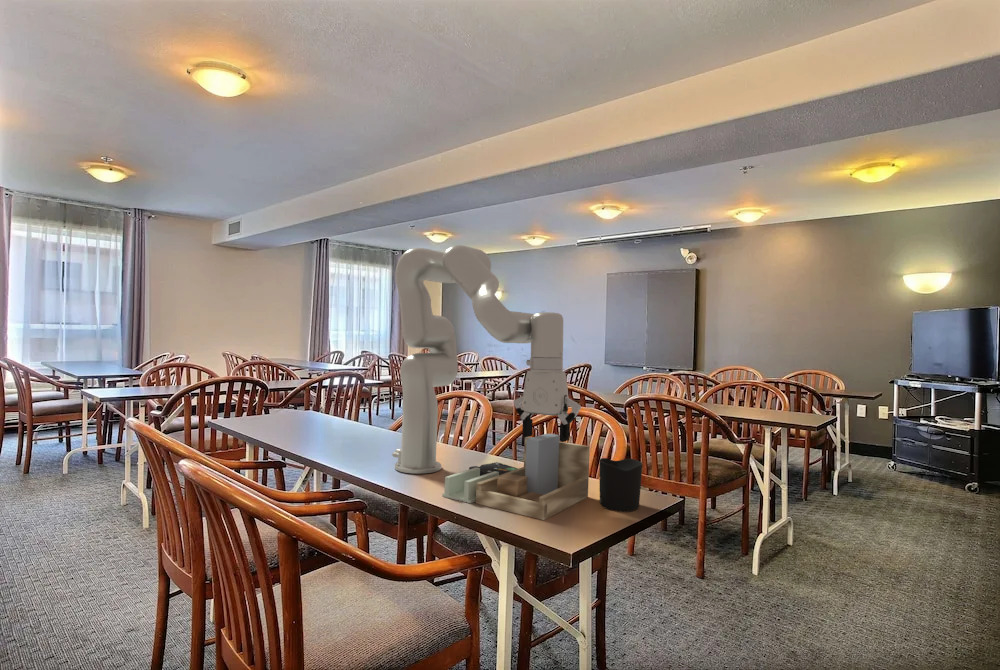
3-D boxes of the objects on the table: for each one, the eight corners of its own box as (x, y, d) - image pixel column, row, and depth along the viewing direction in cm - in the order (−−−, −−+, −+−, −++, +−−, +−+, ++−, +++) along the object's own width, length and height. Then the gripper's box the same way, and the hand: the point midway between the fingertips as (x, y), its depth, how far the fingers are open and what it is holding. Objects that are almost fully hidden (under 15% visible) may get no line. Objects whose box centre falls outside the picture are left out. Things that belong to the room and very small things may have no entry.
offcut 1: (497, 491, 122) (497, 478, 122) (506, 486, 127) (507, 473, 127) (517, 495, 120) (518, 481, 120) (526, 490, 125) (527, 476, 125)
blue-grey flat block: (524, 500, 126) (526, 439, 126) (545, 490, 135) (547, 433, 135) (536, 503, 124) (538, 440, 124) (557, 493, 133) (559, 435, 133)
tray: (475, 503, 123) (477, 449, 123) (525, 483, 140) (527, 436, 140) (543, 520, 113) (545, 461, 113) (587, 496, 131) (589, 446, 131)
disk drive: (467, 477, 147) (505, 489, 136) (468, 466, 147) (506, 478, 136) (496, 471, 154) (535, 483, 143) (496, 461, 154) (535, 472, 143)
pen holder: (610, 497, 131) (612, 455, 131) (647, 506, 125) (649, 462, 125) (590, 505, 124) (591, 461, 124) (628, 515, 118) (630, 468, 118)
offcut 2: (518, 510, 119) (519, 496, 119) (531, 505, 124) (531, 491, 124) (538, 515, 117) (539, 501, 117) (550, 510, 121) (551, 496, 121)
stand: (442, 496, 127) (443, 476, 127) (473, 485, 137) (474, 467, 137) (470, 503, 122) (471, 482, 122) (500, 491, 132) (501, 472, 132)
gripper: (506, 364, 131) (505, 436, 131) (572, 367, 121) (571, 445, 121) (523, 363, 137) (522, 432, 137) (587, 366, 128) (586, 440, 127)
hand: (545, 438), depth 129 cm, fingers open, 9 cm apart
